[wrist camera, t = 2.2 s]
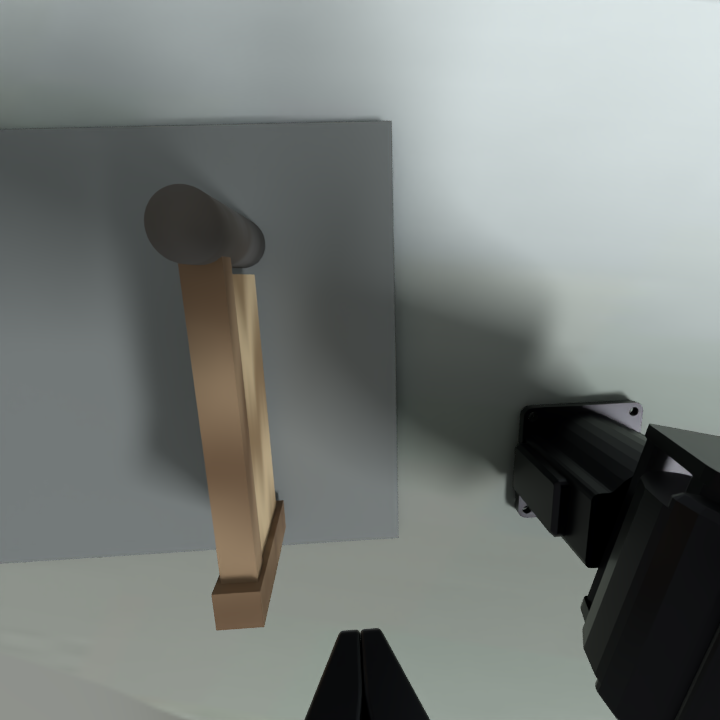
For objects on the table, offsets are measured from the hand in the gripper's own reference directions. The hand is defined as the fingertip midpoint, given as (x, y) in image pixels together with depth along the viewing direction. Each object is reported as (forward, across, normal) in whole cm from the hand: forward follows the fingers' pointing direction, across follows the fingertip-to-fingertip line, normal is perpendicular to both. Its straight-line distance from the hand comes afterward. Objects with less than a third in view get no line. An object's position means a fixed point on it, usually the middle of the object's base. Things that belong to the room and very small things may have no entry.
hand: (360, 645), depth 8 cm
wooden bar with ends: (+12, +5, -2) cm, 13 cm away
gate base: (+13, +10, -4) cm, 16 cm away
